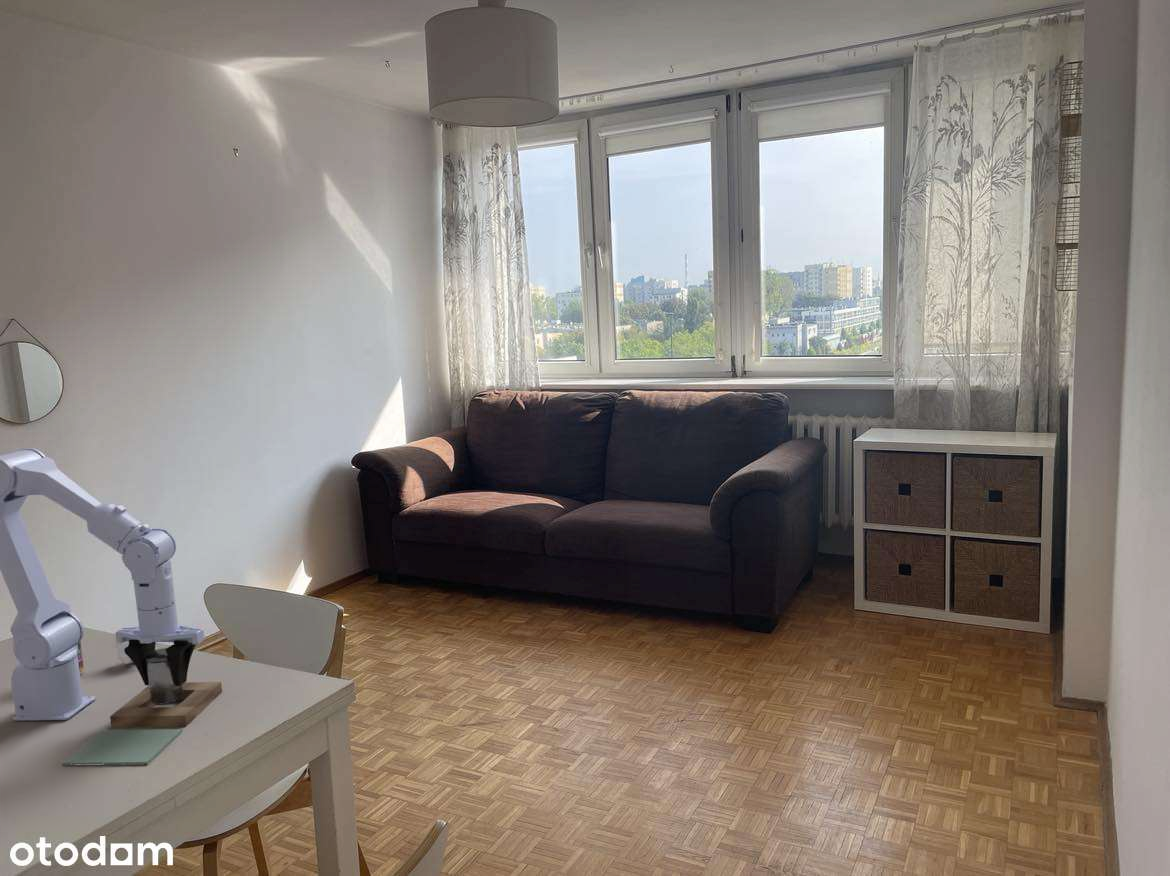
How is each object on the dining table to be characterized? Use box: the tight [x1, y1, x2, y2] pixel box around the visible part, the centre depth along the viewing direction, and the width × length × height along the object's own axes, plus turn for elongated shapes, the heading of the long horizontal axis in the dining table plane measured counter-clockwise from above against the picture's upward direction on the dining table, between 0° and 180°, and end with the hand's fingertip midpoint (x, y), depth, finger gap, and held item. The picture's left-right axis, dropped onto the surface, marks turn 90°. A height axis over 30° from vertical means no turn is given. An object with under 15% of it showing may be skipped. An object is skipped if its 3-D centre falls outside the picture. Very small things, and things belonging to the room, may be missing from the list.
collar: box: [109, 681, 223, 728], centre depth 147 cm, size 12×12×2 cm
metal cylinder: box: [145, 647, 184, 705], centre depth 147 cm, size 5×5×8 cm
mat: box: [61, 728, 183, 766], centre depth 135 cm, size 13×10×1 cm
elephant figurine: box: [114, 640, 133, 665], centre depth 168 cm, size 7×8×6 cm
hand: (165, 683), depth 147 cm, fingers closed on metal cylinder, 5 cm apart
